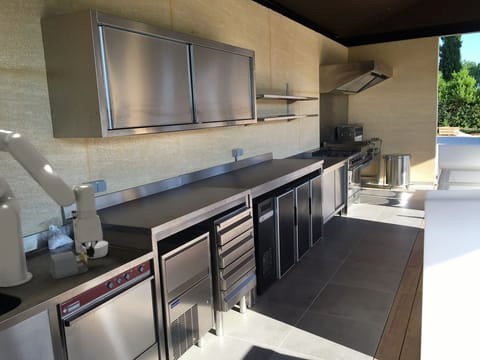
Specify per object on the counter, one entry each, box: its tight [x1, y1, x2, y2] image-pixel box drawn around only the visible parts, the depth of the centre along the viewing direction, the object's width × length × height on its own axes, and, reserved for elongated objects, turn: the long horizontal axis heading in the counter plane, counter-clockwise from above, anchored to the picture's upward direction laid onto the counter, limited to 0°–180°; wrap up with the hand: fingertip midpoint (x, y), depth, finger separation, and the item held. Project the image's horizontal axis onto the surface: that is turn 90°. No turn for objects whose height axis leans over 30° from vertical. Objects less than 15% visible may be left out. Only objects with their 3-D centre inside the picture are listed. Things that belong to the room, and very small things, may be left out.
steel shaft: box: [75, 252, 88, 265], centre depth 169 cm, size 11×5×5 cm, turn 123°
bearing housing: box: [49, 250, 89, 280], centre depth 168 cm, size 13×9×7 cm
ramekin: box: [82, 240, 109, 260], centre depth 188 cm, size 11×11×5 cm
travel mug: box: [71, 209, 84, 255], centre depth 191 cm, size 6×7×20 cm
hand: (90, 256), depth 173 cm, fingers closed
